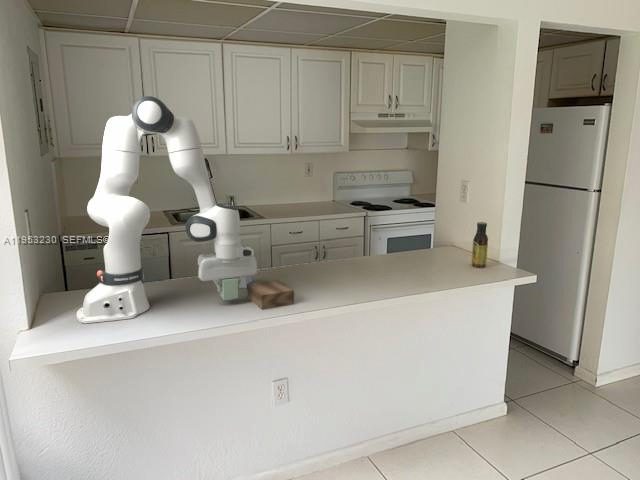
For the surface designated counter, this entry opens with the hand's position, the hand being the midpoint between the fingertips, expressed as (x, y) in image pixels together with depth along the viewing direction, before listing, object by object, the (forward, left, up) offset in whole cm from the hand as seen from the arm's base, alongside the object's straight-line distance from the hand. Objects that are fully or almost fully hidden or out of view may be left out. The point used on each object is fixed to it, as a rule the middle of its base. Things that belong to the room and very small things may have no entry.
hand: (228, 289), depth 166 cm
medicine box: (+12, +17, -5) cm, 21 cm away
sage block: (0, 0, -3) cm, 3 cm away
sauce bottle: (+113, -8, -5) cm, 113 cm away
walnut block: (+14, -4, -5) cm, 15 cm away
